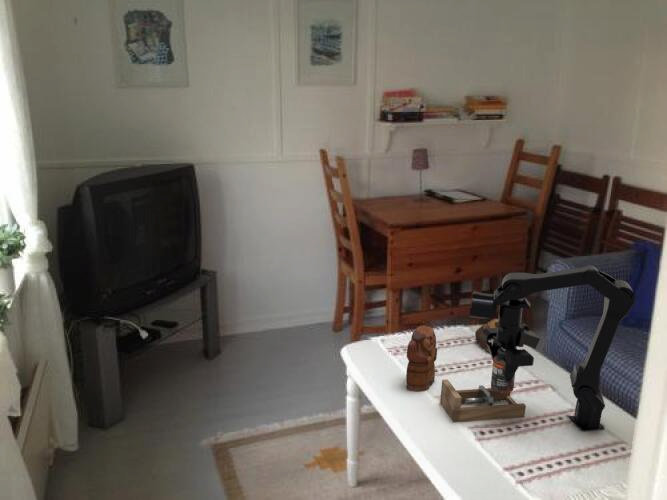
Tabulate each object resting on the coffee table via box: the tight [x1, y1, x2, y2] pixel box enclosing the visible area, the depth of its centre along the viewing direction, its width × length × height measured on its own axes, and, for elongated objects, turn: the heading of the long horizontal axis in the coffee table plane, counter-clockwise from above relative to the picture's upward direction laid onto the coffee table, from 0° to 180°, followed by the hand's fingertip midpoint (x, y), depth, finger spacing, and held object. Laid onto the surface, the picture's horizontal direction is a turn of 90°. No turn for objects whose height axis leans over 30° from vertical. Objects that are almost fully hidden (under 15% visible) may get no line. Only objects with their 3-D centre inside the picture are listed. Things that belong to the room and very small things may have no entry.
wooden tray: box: [439, 379, 527, 423], centre depth 161 cm, size 10×20×7 cm, turn 100°
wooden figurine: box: [405, 325, 438, 392], centre depth 172 cm, size 12×6×18 cm, turn 149°
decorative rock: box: [475, 318, 498, 352], centre depth 200 cm, size 12×6×11 cm, turn 14°
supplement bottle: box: [490, 348, 516, 394], centre depth 159 cm, size 6×6×11 cm
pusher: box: [465, 385, 494, 406], centre depth 161 cm, size 7×6×5 cm
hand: (503, 375), depth 160 cm, fingers closed on supplement bottle, 6 cm apart
